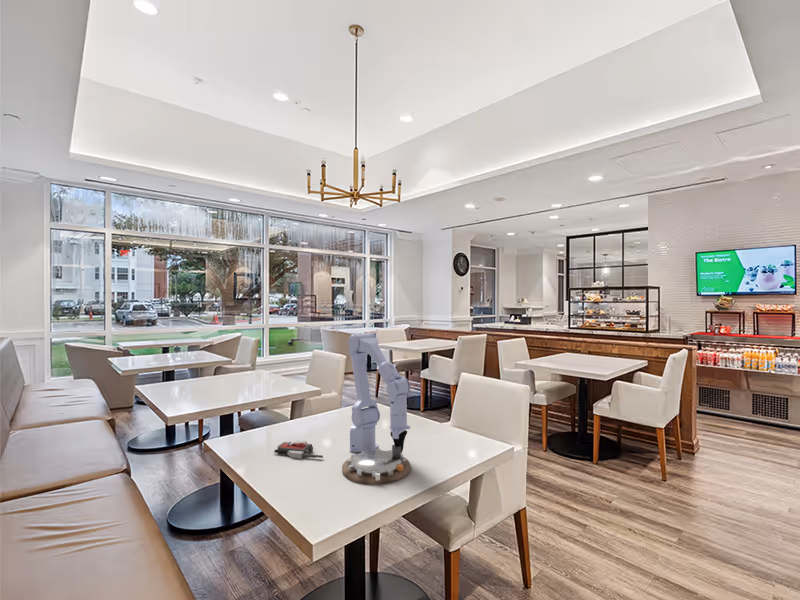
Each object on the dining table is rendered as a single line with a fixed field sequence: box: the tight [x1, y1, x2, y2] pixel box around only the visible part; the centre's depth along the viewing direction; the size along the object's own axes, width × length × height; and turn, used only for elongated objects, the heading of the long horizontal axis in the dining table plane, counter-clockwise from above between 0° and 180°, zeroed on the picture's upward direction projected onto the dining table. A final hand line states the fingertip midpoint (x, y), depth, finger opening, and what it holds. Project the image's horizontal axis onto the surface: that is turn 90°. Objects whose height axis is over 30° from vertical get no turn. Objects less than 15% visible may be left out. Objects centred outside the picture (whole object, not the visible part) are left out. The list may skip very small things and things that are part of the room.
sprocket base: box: [341, 456, 412, 486], centre depth 135 cm, size 23×23×3 cm
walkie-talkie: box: [273, 440, 324, 460], centre depth 148 cm, size 9×4×20 cm
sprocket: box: [346, 444, 407, 478], centre depth 135 cm, size 20×20×6 cm
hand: (399, 452), depth 139 cm, fingers closed, pressing on sprocket
